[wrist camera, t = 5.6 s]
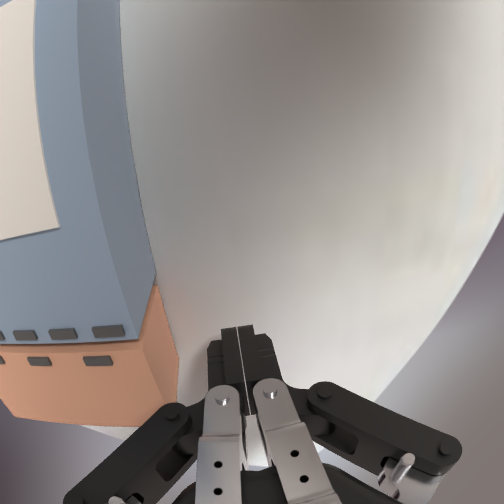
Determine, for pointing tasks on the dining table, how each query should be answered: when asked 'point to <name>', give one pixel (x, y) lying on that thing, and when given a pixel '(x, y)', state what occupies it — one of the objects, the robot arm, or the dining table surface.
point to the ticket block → (68, 178)
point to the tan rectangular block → (94, 376)
